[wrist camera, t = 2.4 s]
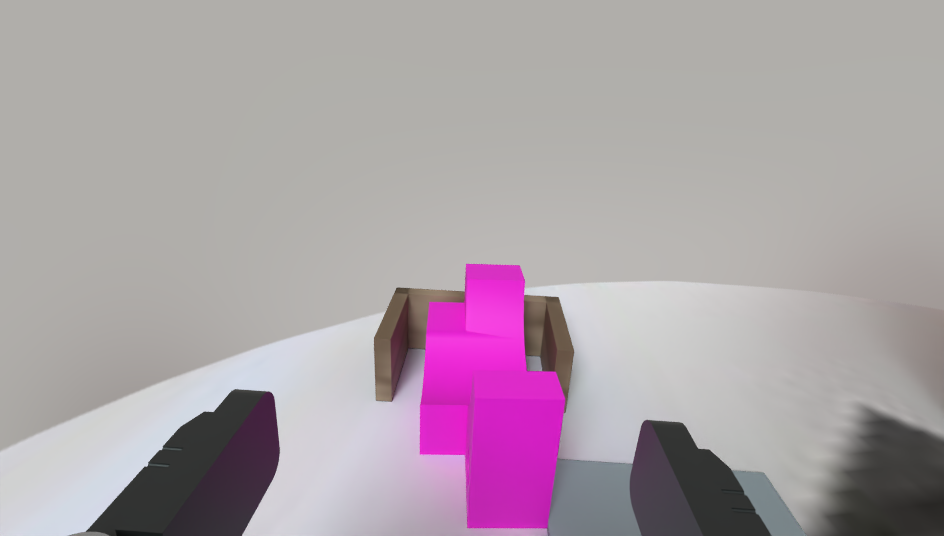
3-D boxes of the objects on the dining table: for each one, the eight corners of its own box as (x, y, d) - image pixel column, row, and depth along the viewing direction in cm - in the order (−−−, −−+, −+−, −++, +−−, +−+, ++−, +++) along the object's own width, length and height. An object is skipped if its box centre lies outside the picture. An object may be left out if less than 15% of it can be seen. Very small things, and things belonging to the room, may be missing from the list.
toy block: (428, 355, 37) (429, 262, 34) (511, 357, 37) (519, 265, 34) (413, 530, 23) (413, 397, 20) (546, 531, 23) (565, 399, 20)
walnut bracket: (551, 349, 38) (558, 297, 36) (565, 412, 31) (574, 351, 29) (397, 340, 38) (396, 287, 36) (375, 400, 31) (373, 338, 29)
